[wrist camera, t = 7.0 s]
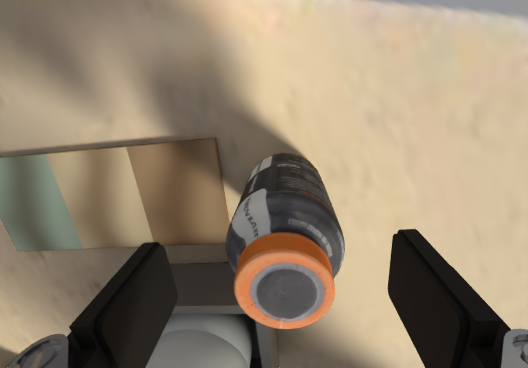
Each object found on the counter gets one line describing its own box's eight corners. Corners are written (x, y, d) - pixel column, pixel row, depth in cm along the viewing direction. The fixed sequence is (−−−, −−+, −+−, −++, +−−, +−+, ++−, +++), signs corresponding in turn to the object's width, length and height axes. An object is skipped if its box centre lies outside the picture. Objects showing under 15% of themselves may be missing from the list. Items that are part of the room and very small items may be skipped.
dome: (249, 287, 22) (229, 393, 14) (259, 353, 25) (247, 472, 17) (160, 289, 23) (96, 390, 15) (179, 353, 26) (134, 465, 18)
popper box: (268, 261, 23) (263, 305, 18) (278, 354, 27) (277, 409, 22) (101, 266, 24) (58, 307, 20) (135, 352, 29) (105, 403, 24)
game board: (215, 137, 19) (213, 139, 19) (232, 238, 22) (230, 242, 22) (-21, 159, 21) (-29, 161, 21) (23, 247, 24) (17, 251, 24)
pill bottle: (236, 167, 20) (180, 254, 9) (307, 140, 19) (336, 203, 8) (264, 229, 22) (244, 361, 11) (331, 208, 20) (381, 333, 10)
